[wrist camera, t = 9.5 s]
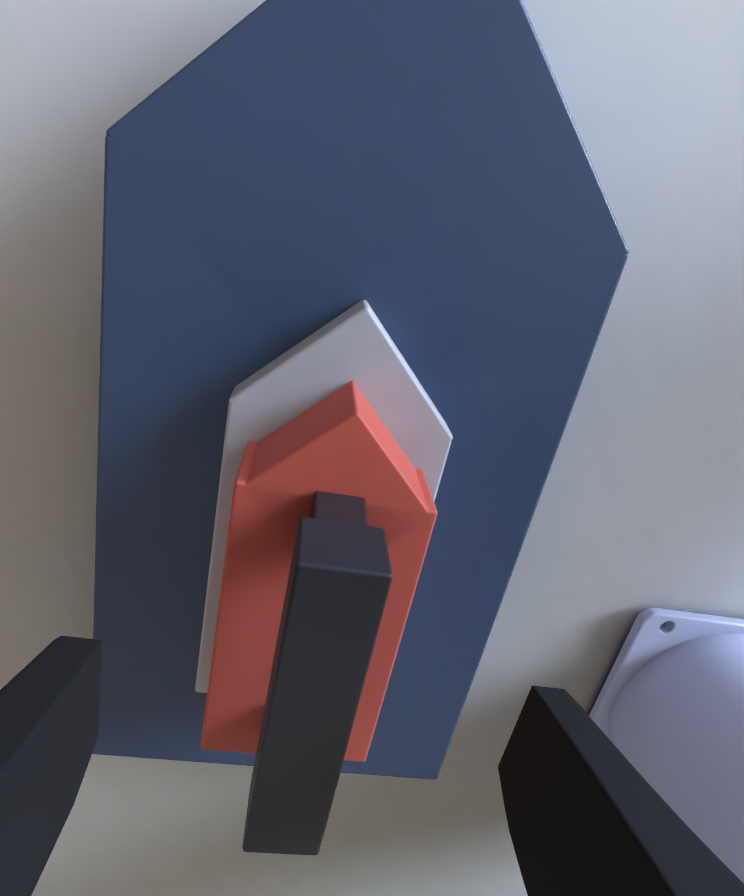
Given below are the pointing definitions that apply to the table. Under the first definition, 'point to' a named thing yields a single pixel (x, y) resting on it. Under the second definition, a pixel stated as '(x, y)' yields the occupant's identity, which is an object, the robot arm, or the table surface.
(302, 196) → the ironing board
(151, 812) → the table surface
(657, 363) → the table surface
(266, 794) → the iron
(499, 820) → the table surface
